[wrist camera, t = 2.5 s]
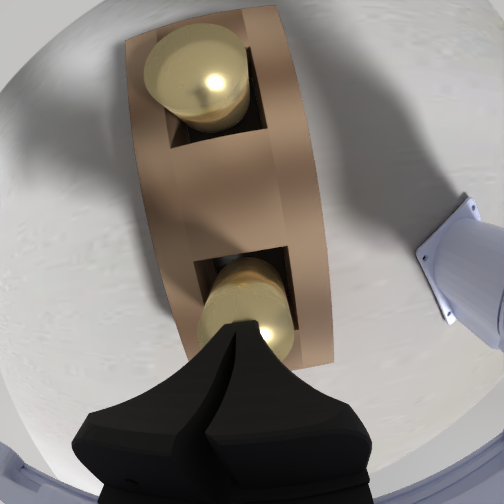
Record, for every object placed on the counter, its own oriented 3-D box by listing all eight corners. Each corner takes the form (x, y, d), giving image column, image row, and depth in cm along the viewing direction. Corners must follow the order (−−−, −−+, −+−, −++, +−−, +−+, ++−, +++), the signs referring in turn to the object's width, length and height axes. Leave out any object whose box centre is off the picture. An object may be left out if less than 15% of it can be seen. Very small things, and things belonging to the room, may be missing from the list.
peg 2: (287, 315, 16) (298, 366, 11) (222, 325, 16) (210, 377, 11) (278, 251, 15) (288, 284, 10) (207, 263, 15) (185, 300, 10)
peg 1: (256, 124, 13) (255, 96, 8) (183, 140, 13) (148, 121, 9) (243, 61, 12) (237, 15, 7) (173, 77, 13) (141, 40, 8)
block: (318, 324, 20) (334, 362, 16) (207, 341, 21) (195, 380, 16) (271, 41, 15) (275, 5, 10) (152, 67, 16) (125, 40, 11)
